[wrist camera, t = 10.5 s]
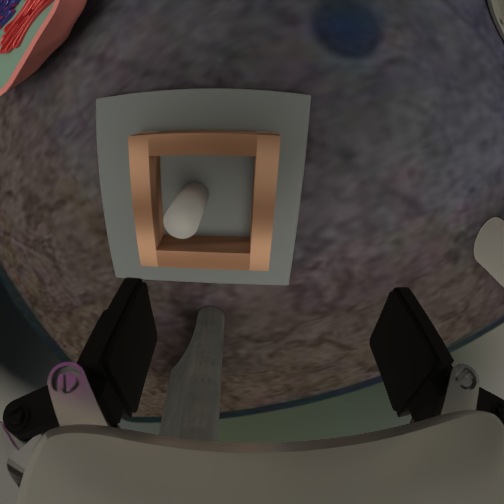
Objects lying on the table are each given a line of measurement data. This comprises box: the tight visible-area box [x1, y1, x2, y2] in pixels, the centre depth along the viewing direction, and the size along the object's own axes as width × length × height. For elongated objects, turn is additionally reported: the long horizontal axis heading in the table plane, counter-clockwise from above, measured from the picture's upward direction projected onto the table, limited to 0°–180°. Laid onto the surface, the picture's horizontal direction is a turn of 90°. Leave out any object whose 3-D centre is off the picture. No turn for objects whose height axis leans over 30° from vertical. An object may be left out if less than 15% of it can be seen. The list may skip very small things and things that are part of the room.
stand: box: [96, 89, 311, 285], centre depth 21 cm, size 18×18×8 cm
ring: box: [128, 130, 281, 271], centre depth 22 cm, size 11×11×3 cm
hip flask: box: [159, 306, 225, 441], centre depth 26 cm, size 16×4×20 cm, turn 154°
